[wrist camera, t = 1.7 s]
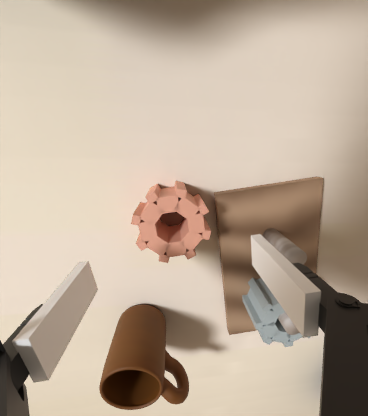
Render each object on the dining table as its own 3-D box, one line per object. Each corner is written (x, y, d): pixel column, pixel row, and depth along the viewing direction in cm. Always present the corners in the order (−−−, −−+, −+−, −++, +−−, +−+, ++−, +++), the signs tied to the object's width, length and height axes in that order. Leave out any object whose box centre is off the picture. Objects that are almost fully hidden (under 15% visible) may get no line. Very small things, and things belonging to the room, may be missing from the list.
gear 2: (233, 287, 29) (246, 314, 24) (286, 259, 28) (309, 282, 23) (256, 324, 31) (272, 355, 27) (305, 300, 30) (330, 328, 26)
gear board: (214, 192, 26) (229, 208, 19) (316, 176, 26) (369, 186, 19) (227, 328, 33) (242, 375, 26) (307, 315, 33) (343, 358, 26)
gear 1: (133, 187, 25) (124, 196, 20) (199, 177, 25) (206, 183, 20) (146, 246, 27) (141, 266, 23) (206, 236, 28) (214, 255, 23)
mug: (197, 324, 32) (206, 392, 23) (172, 353, 34) (173, 427, 25) (133, 294, 30) (117, 357, 21) (110, 327, 31) (86, 399, 22)
